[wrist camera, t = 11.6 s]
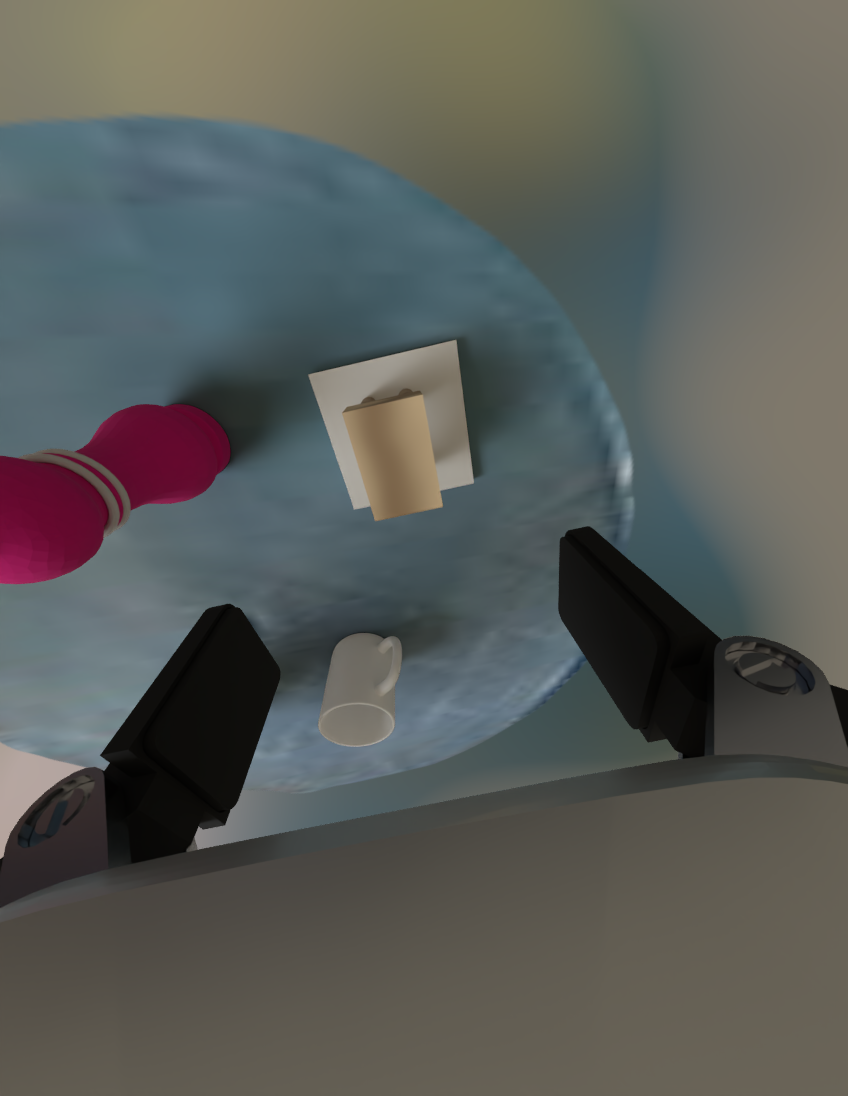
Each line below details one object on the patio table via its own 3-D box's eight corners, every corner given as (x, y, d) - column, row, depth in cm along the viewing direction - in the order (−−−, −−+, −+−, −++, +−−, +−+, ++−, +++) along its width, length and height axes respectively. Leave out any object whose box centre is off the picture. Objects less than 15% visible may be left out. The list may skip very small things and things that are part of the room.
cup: (321, 658, 44) (303, 733, 36) (372, 603, 40) (366, 672, 31) (371, 680, 47) (366, 754, 39) (424, 631, 43) (432, 701, 35)
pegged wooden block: (414, 382, 27) (422, 394, 20) (431, 470, 31) (442, 506, 23) (355, 396, 27) (341, 412, 20) (379, 481, 31) (375, 521, 24)
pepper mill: (227, 400, 27) (-46, 481, 10) (244, 482, 31) (64, 642, 14) (133, 394, 27) (-327, 470, 10) (162, 479, 30) (-133, 643, 13)
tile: (471, 479, 33) (474, 483, 32) (355, 504, 33) (354, 509, 32) (453, 340, 27) (456, 339, 26) (311, 373, 27) (308, 374, 26)
